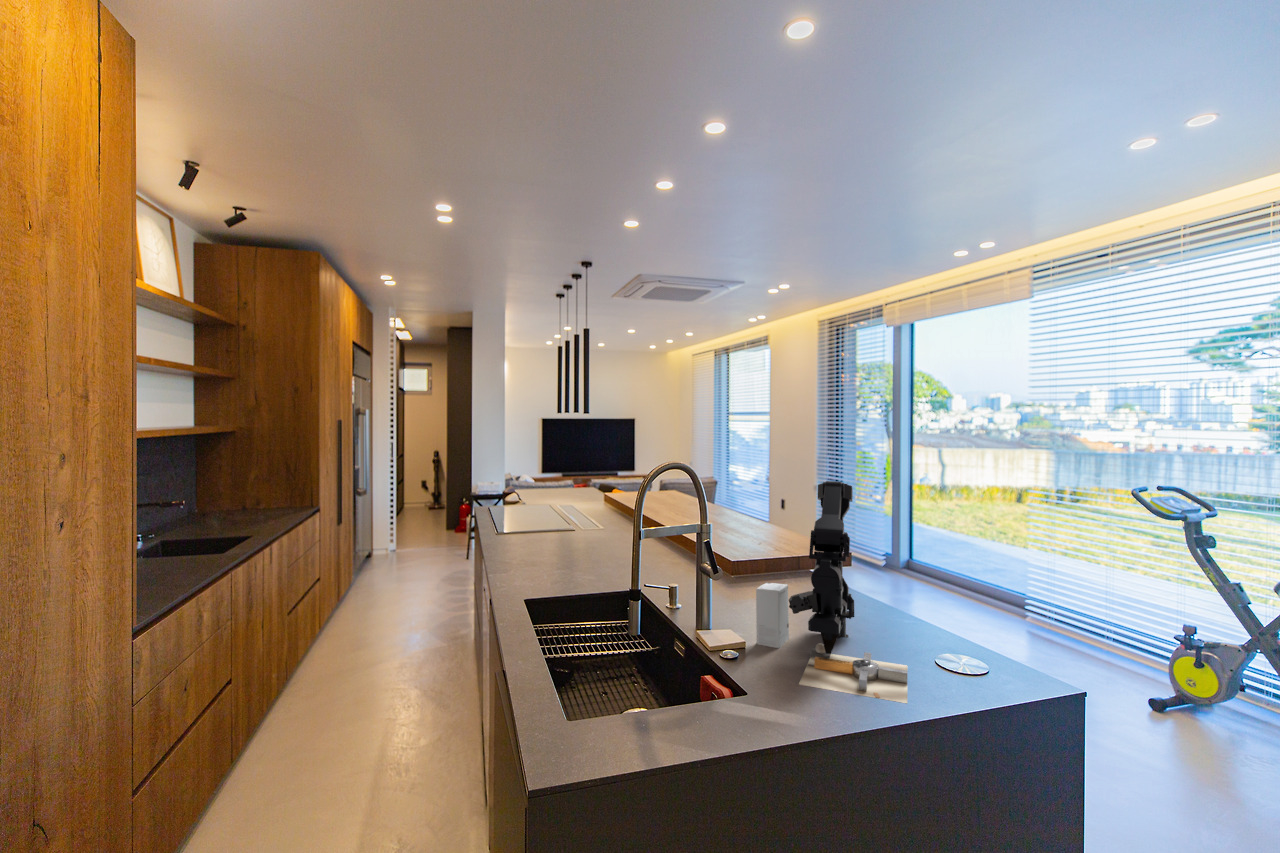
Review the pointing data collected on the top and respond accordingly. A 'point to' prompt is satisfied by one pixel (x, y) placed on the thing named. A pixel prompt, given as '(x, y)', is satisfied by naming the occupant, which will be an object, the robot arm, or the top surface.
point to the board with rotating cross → (852, 678)
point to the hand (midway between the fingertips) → (828, 653)
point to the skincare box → (772, 614)
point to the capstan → (862, 670)
